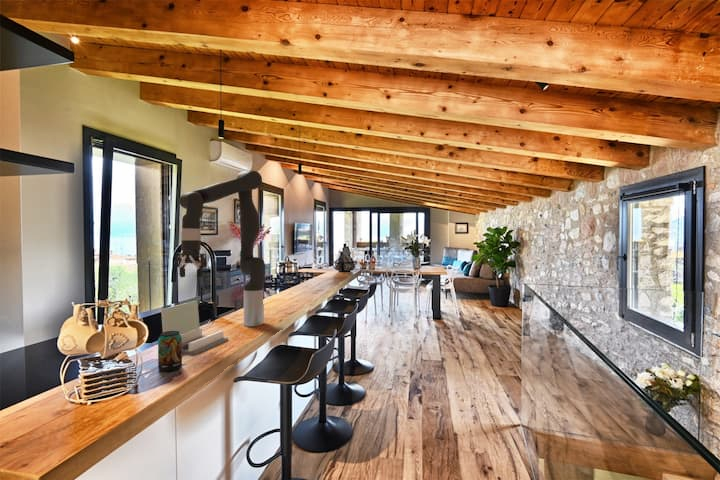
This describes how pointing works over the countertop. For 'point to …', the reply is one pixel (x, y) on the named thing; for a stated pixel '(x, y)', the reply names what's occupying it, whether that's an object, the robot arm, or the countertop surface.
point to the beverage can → (169, 351)
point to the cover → (181, 318)
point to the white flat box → (200, 341)
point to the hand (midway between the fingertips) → (190, 277)
